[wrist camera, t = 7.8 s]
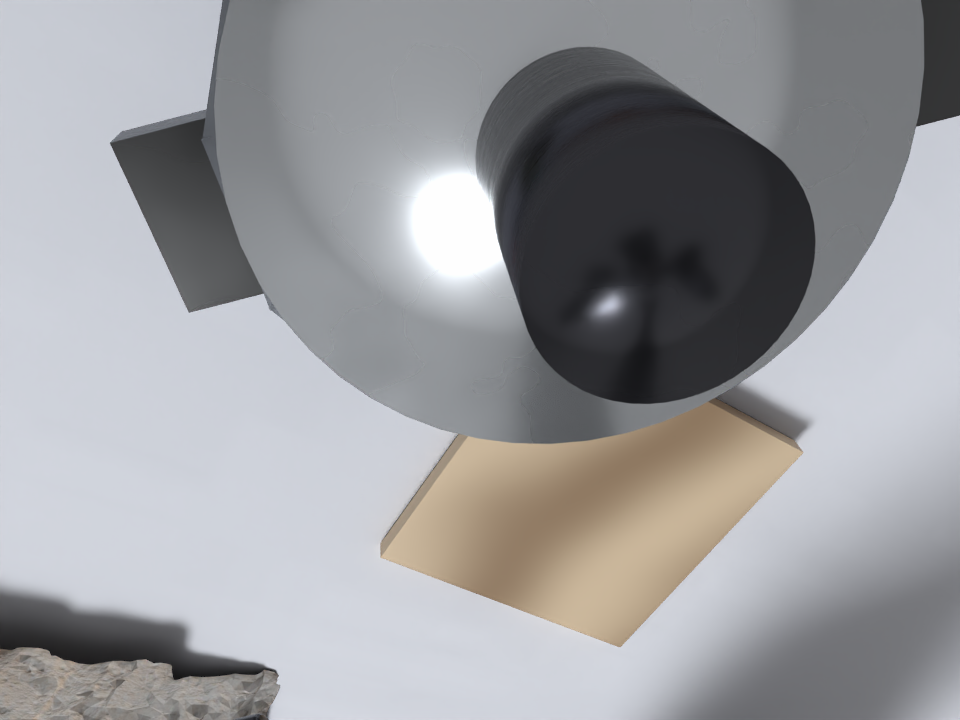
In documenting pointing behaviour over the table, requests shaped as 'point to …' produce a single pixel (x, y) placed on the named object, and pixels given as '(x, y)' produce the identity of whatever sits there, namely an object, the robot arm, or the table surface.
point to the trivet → (589, 515)
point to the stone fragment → (123, 690)
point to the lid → (560, 192)
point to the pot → (206, 219)
